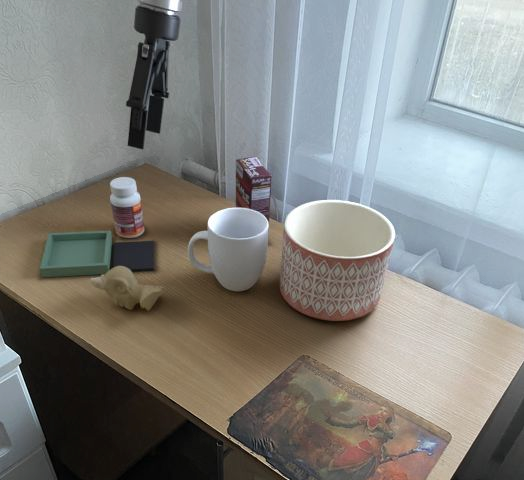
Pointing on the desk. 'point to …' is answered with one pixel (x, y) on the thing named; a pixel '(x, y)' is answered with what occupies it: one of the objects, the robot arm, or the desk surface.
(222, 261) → the mug
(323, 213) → the planter
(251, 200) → the supplement box
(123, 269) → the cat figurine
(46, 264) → the tray
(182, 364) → the desk surface
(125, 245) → the scrub mat
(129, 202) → the pill bottle
